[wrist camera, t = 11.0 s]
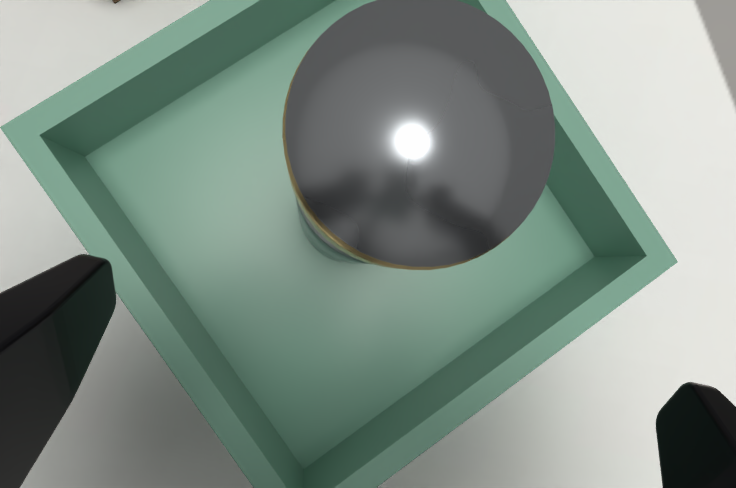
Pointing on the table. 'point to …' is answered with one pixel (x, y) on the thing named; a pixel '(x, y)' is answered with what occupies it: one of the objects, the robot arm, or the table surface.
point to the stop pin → (416, 135)
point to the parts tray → (314, 252)
